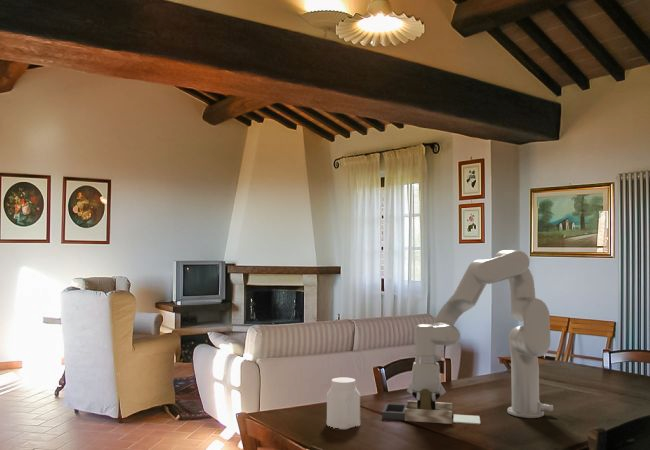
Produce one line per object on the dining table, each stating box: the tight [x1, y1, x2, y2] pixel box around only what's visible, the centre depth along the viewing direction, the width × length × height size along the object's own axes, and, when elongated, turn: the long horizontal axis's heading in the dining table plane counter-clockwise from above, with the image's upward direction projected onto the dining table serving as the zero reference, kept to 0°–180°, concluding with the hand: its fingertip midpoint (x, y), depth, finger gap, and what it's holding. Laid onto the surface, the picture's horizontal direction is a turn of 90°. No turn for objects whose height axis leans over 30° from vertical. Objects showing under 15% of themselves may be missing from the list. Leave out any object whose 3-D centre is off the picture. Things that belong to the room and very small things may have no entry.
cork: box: [419, 389, 432, 410], centre depth 208 cm, size 6×6×11 cm
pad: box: [452, 413, 481, 425], centre depth 204 cm, size 9×9×1 cm
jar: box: [326, 376, 361, 430], centre depth 199 cm, size 12×10×15 cm
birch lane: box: [404, 400, 453, 425], centre depth 207 cm, size 16×12×4 cm
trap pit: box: [381, 403, 408, 422], centre depth 210 cm, size 8×12×2 cm, turn 167°
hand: (426, 410), depth 207 cm, fingers closed on cork, 3 cm apart
